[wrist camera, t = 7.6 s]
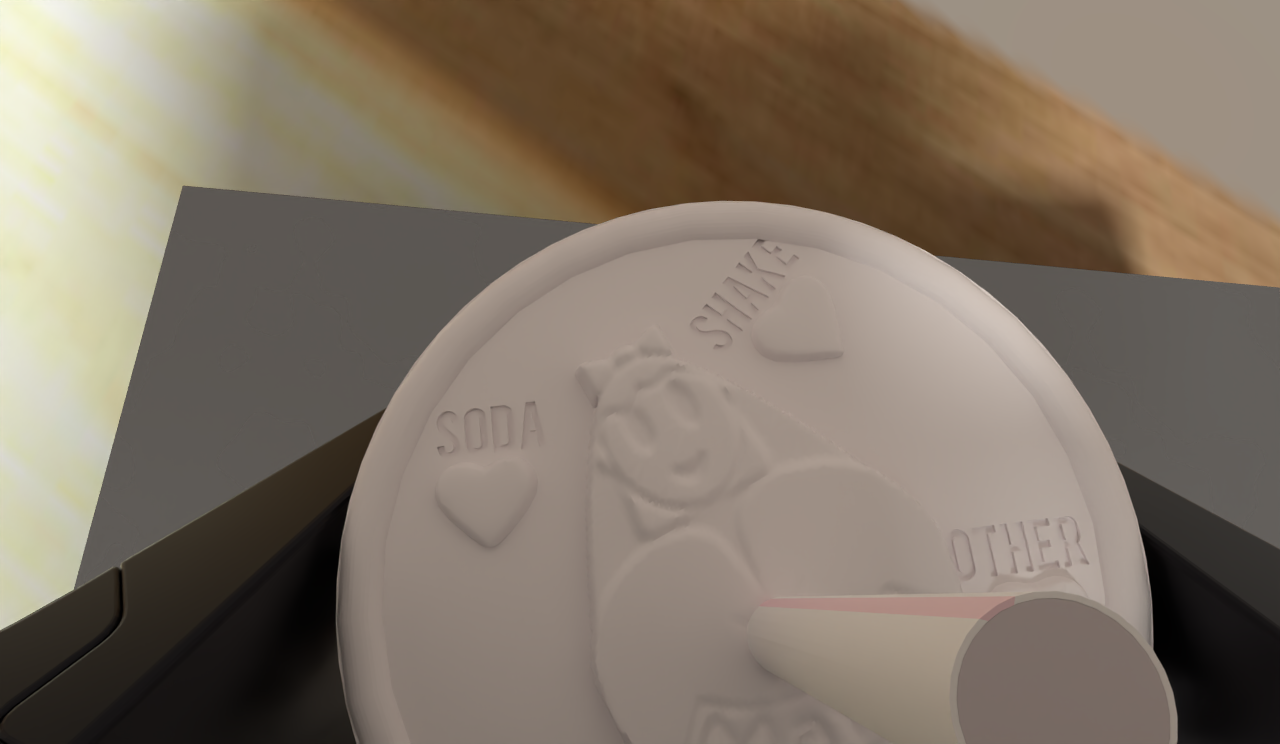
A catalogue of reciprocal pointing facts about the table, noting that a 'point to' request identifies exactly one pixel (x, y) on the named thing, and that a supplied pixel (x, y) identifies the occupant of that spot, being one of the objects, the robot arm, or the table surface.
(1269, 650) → the robot arm
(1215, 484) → the block
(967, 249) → the table surface
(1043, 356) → the smoothie
